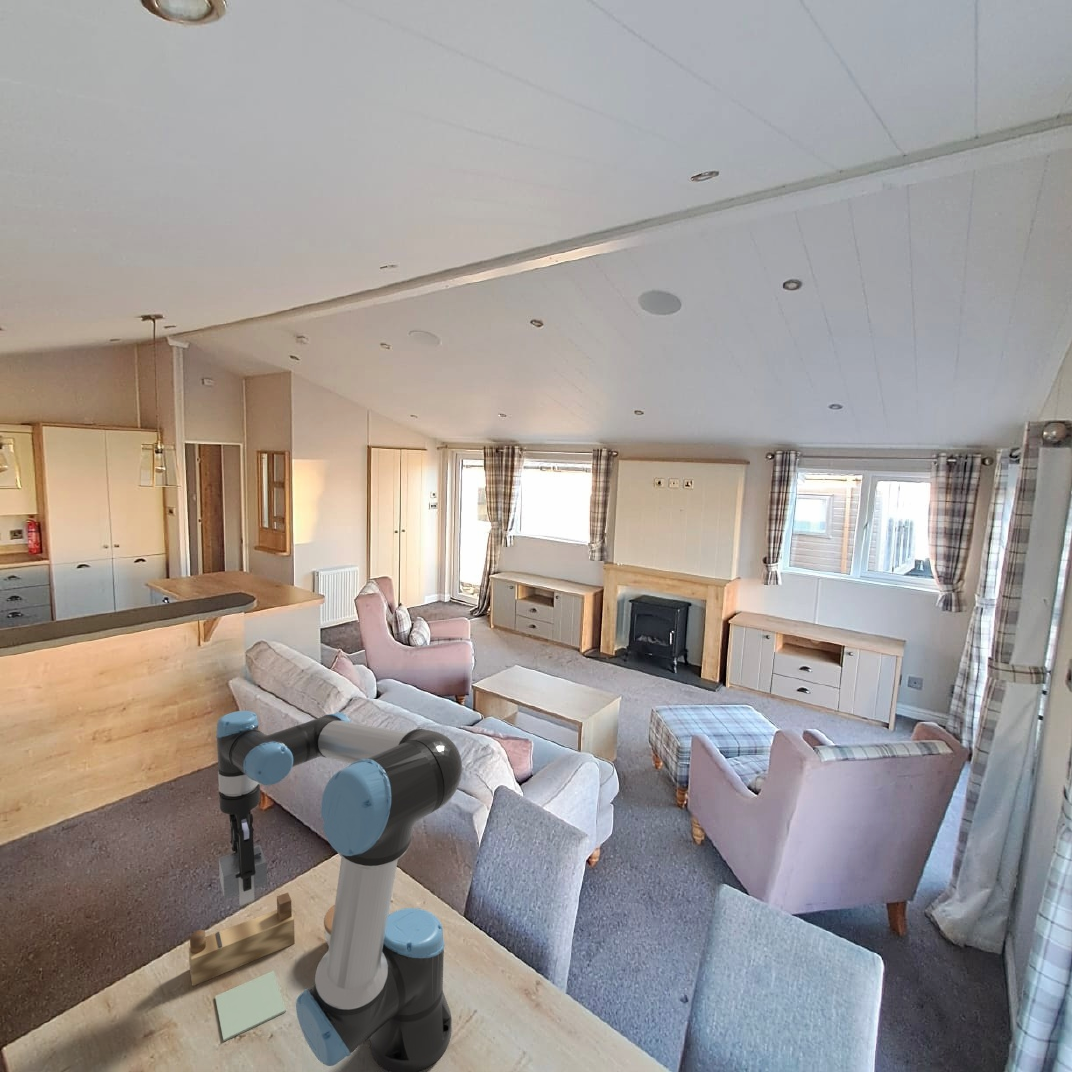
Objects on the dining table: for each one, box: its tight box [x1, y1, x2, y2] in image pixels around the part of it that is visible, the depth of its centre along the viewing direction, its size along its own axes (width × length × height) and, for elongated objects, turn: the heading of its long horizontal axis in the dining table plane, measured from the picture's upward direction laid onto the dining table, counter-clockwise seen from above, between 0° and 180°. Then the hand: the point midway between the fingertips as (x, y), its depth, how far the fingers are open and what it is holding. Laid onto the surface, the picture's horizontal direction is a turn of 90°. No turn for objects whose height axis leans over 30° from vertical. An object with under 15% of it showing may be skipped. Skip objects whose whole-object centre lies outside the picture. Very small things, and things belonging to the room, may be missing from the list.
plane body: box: [188, 892, 296, 987], centre depth 129 cm, size 20×5×10 cm, turn 125°
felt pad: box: [214, 970, 287, 1042], centre depth 118 cm, size 11×11×1 cm
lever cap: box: [218, 844, 268, 900], centre depth 124 cm, size 7×8×6 cm
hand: (243, 890), depth 125 cm, fingers closed on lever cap, 7 cm apart
